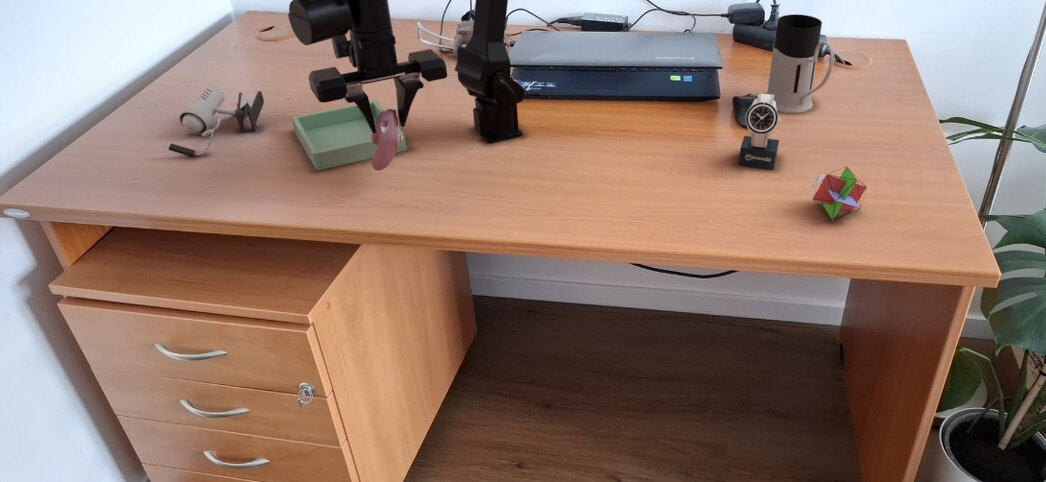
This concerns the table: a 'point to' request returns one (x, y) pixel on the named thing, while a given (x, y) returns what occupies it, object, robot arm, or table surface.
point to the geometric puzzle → (838, 192)
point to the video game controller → (385, 139)
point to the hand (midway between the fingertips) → (388, 129)
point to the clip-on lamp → (204, 108)
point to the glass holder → (796, 62)
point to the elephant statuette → (467, 35)
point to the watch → (760, 134)
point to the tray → (338, 135)
